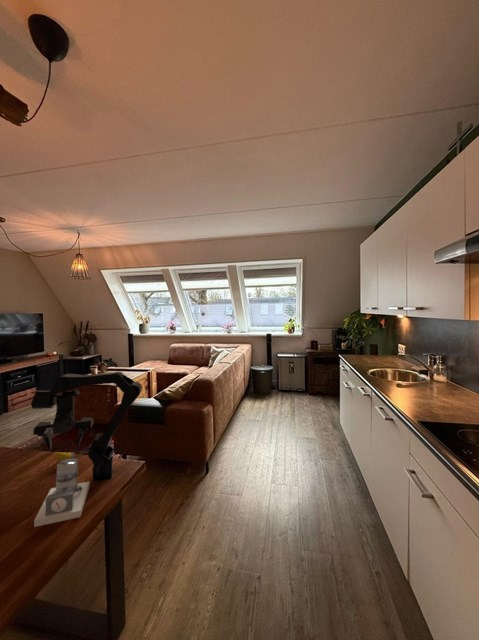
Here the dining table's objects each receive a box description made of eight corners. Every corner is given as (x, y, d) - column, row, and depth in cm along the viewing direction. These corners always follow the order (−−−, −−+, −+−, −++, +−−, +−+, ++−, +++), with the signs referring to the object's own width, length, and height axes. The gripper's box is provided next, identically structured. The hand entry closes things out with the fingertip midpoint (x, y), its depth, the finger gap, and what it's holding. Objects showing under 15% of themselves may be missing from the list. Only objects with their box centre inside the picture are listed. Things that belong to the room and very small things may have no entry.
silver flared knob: (79, 470, 93) (79, 456, 94) (75, 480, 88) (76, 465, 88) (59, 474, 91) (59, 460, 91) (54, 484, 86) (54, 468, 86)
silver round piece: (78, 485, 93) (78, 471, 93) (74, 495, 88) (74, 480, 88) (58, 488, 91) (59, 474, 91) (53, 499, 86) (53, 484, 86)
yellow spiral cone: (76, 466, 112) (57, 456, 106) (66, 469, 113) (47, 460, 107) (81, 453, 116) (62, 444, 110) (71, 457, 117) (53, 448, 111)
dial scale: (89, 486, 97) (89, 467, 97) (80, 516, 82) (80, 494, 82) (51, 494, 93) (51, 474, 93) (34, 527, 78) (34, 503, 78)
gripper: (27, 417, 90) (26, 462, 90) (89, 411, 97) (88, 453, 97) (39, 407, 101) (38, 447, 101) (93, 402, 107) (93, 440, 107)
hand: (64, 447), depth 101 cm, fingers open, 9 cm apart
